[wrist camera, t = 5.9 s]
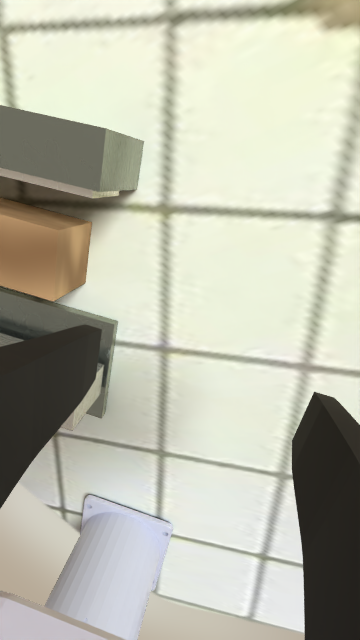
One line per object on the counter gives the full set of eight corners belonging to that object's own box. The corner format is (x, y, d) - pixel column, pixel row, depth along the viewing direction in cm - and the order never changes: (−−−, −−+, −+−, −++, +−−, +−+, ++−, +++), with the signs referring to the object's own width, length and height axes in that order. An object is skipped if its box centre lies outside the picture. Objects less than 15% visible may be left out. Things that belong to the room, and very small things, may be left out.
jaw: (100, 393, 24) (72, 430, 21) (-31, 352, 26) (-79, 380, 22) (104, 359, 23) (76, 392, 20) (-33, 317, 24) (-84, 341, 21)
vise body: (101, 432, 27) (70, 483, 23) (-39, 386, 29) (-95, 424, 24) (143, 141, 19) (106, 128, 14) (-61, 95, 20) (-155, 71, 16)
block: (86, 282, 23) (53, 301, 19) (-8, 254, 24) (-57, 268, 20) (93, 221, 21) (58, 230, 17) (-9, 194, 22) (-62, 197, 18)
